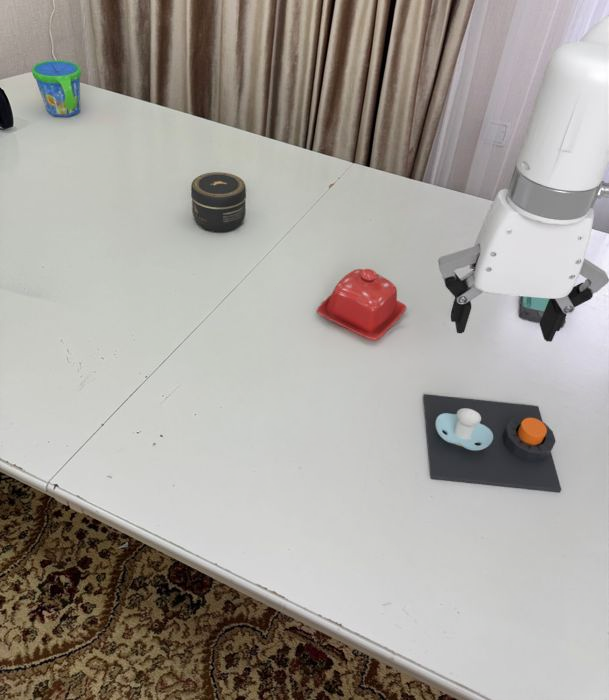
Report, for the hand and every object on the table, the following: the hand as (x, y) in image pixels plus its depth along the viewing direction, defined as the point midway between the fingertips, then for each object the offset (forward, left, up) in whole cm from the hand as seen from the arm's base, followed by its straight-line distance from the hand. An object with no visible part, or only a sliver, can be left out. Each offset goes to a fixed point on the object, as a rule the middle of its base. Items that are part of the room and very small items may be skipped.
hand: (501, 329), depth 69 cm
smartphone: (-18, -34, -19) cm, 42 cm away
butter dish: (+13, -24, -19) cm, 33 cm away
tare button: (-8, 0, -17) cm, 19 cm away
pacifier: (0, 0, -18) cm, 18 cm away
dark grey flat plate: (-3, 0, -19) cm, 19 cm away
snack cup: (+86, -90, -19) cm, 125 cm away
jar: (+41, -48, -19) cm, 65 cm away
